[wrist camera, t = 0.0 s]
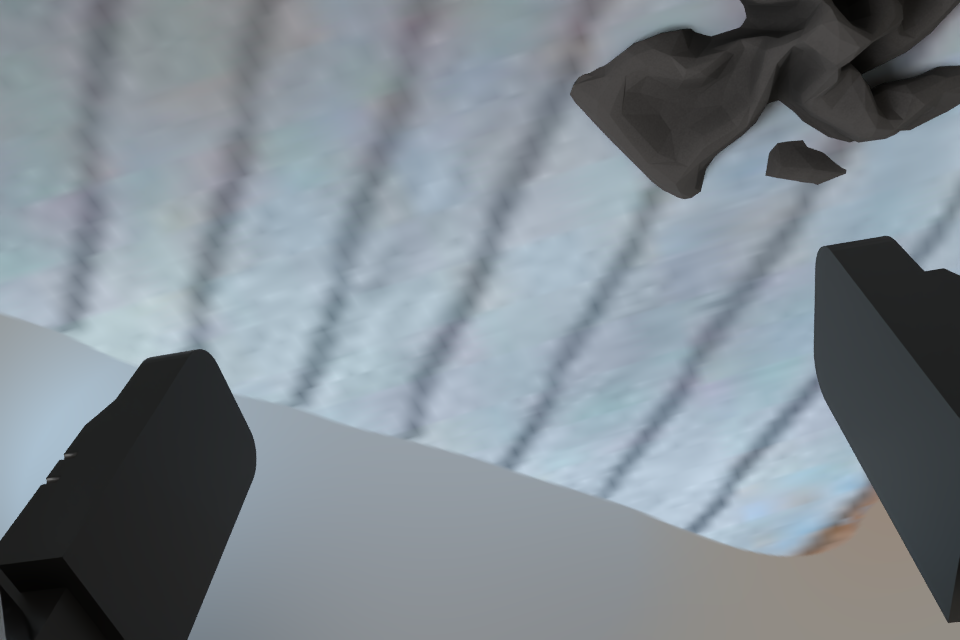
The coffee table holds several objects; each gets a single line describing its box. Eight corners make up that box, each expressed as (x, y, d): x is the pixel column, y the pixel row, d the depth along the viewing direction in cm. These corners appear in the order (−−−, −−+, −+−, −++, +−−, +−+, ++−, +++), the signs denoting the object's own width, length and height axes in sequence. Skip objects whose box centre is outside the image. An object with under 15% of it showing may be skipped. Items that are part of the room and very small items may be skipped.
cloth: (551, 180, 40) (556, 231, 35) (638, -249, 30) (663, -267, 25) (951, 239, 41) (1015, 297, 36) (1164, -158, 31) (1293, -158, 26)
